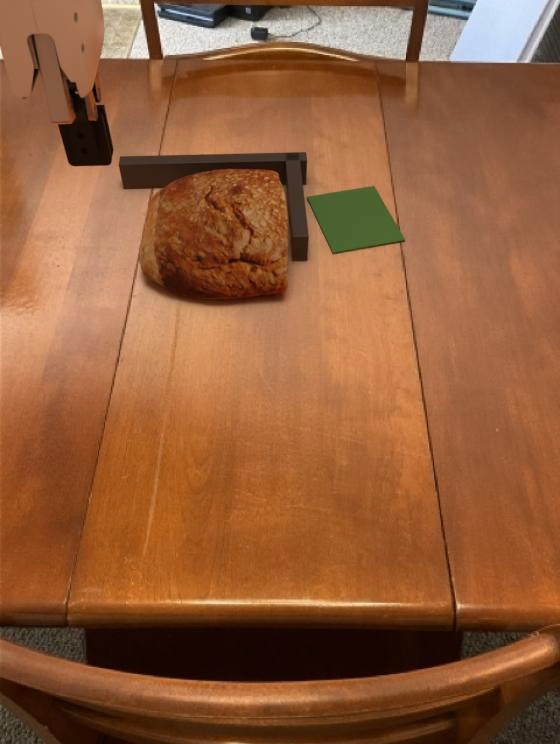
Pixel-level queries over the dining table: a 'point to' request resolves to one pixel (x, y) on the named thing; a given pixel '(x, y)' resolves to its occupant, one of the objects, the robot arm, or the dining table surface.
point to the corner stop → (174, 167)
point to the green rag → (354, 219)
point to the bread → (218, 235)
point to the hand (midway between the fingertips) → (92, 159)
